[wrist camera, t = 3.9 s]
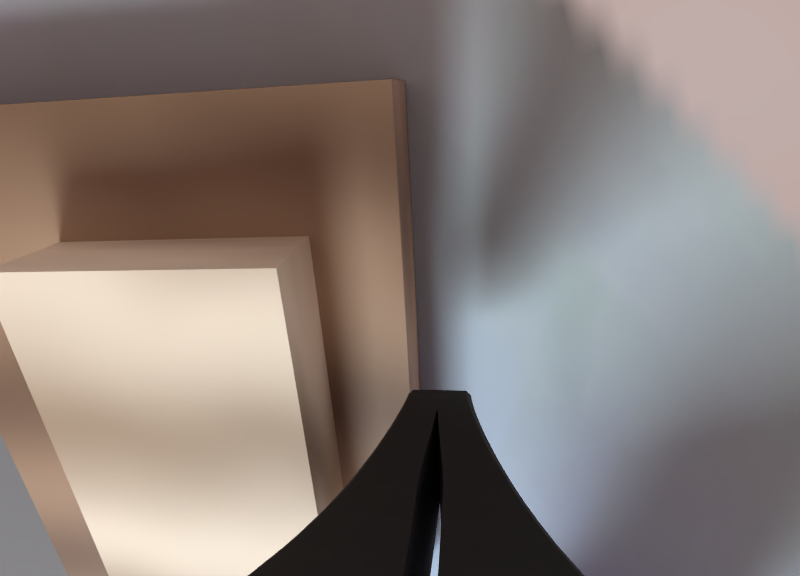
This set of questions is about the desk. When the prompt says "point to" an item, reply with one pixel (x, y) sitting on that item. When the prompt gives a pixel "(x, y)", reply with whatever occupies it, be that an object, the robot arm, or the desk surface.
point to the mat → (22, 528)
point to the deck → (224, 233)
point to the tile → (180, 394)
